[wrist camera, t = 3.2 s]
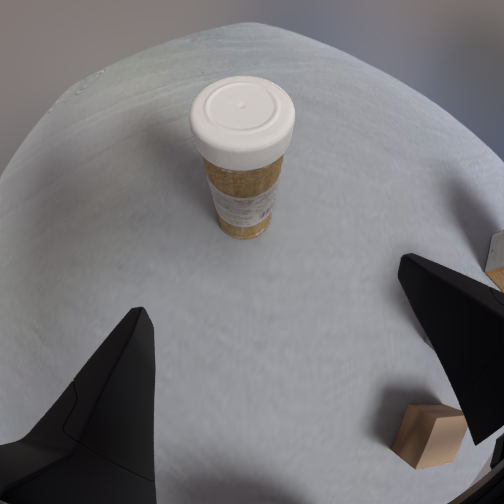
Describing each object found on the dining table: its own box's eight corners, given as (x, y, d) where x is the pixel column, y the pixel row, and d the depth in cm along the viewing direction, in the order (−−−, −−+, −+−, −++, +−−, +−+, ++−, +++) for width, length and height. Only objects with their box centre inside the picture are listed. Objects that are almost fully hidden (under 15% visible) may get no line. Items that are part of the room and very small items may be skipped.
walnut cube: (426, 445, 18) (452, 461, 14) (390, 449, 19) (415, 469, 14) (442, 403, 20) (472, 414, 15) (407, 404, 20) (436, 418, 15)
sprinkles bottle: (245, 181, 24) (244, 60, 11) (282, 216, 23) (319, 108, 10) (206, 215, 23) (166, 107, 10) (243, 253, 23) (238, 169, 9)
